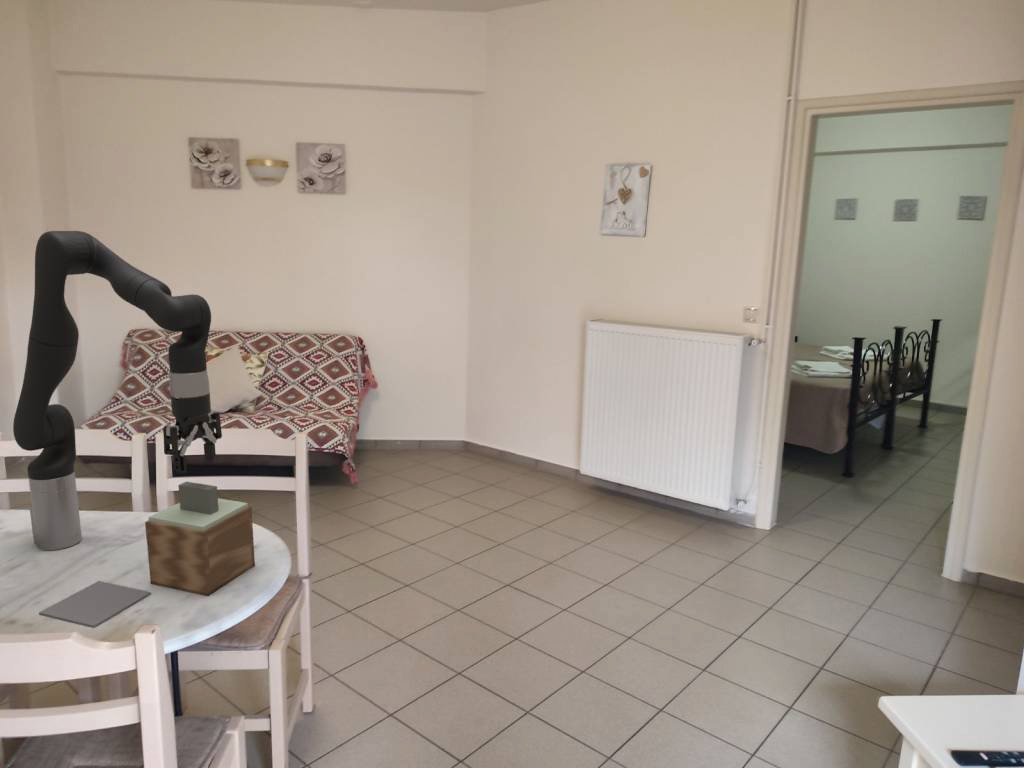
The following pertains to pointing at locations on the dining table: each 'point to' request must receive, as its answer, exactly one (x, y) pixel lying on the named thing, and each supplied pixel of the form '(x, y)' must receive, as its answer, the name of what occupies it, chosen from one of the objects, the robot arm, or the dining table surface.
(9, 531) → the dining table surface
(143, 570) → the dining table surface
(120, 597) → the mat
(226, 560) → the box
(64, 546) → the robot arm
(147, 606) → the dining table surface
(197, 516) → the lid
